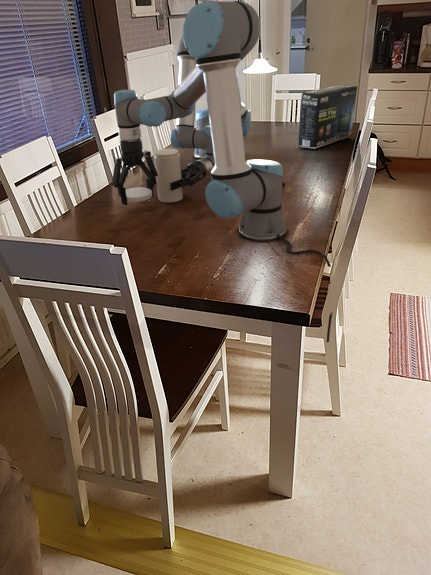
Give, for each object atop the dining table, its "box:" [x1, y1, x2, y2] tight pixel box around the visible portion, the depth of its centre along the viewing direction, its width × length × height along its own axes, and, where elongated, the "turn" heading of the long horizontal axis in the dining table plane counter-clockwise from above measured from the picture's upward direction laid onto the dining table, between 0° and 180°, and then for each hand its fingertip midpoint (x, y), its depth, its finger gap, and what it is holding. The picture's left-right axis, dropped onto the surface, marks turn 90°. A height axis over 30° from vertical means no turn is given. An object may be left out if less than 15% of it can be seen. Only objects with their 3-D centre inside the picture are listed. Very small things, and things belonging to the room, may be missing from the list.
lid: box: [125, 186, 153, 203], centre depth 167 cm, size 11×11×2 cm
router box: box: [297, 84, 358, 151], centre depth 238 cm, size 36×11×27 cm, turn 134°
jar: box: [153, 148, 184, 203], centre depth 176 cm, size 10×10×18 cm
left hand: (161, 184), depth 174 cm, fingers closed on jar, 10 cm apart
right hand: (137, 200), depth 168 cm, fingers closed on lid, 11 cm apart
